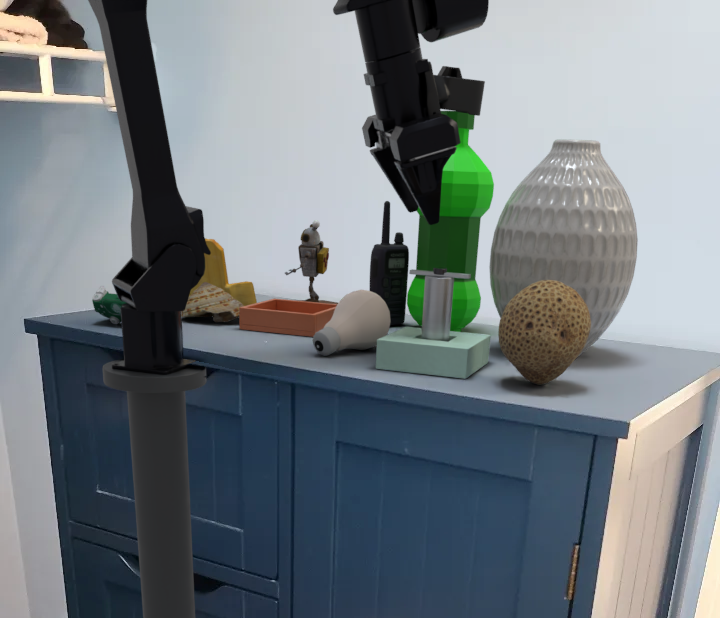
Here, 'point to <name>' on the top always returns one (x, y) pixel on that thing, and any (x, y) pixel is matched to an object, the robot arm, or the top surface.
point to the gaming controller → (108, 305)
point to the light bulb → (354, 324)
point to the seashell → (212, 304)
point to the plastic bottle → (455, 229)
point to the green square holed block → (433, 353)
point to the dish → (286, 316)
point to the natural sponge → (544, 330)
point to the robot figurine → (312, 259)
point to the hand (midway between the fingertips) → (423, 217)
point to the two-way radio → (390, 270)
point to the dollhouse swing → (224, 276)
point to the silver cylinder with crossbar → (437, 302)
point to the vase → (568, 233)
